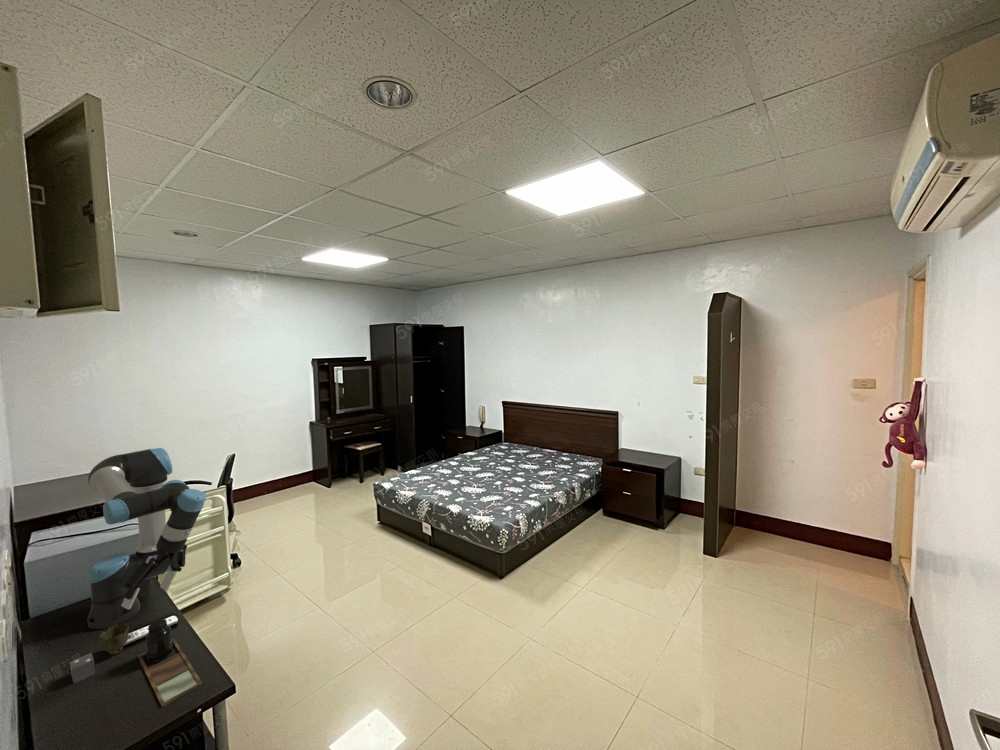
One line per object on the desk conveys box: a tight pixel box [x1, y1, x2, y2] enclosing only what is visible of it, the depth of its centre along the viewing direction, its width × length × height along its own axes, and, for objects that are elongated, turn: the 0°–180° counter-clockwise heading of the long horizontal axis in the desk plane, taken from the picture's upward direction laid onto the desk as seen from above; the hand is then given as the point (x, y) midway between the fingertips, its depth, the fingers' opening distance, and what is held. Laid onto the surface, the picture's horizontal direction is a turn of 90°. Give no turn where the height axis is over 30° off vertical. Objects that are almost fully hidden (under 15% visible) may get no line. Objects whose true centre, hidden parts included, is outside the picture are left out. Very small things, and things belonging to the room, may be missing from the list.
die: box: [69, 652, 96, 684], centre depth 133 cm, size 5×5×5 cm
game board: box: [137, 638, 203, 708], centre depth 135 cm, size 31×10×1 cm, turn 52°
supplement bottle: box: [145, 618, 174, 664], centre depth 140 cm, size 7×7×12 cm
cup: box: [99, 623, 130, 655], centre depth 142 cm, size 8×7×8 cm
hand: (145, 597), depth 133 cm, fingers open, 13 cm apart
